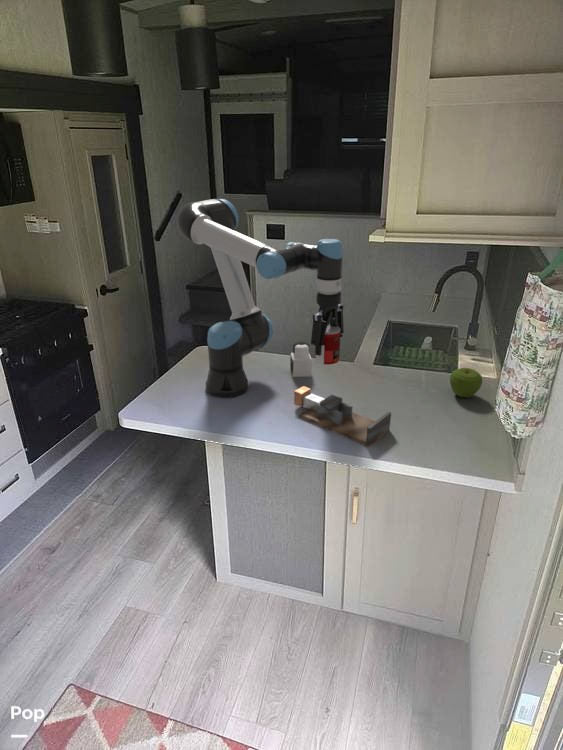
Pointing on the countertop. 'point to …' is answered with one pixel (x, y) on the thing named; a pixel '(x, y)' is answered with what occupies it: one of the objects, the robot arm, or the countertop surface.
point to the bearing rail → (347, 421)
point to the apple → (465, 382)
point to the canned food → (331, 345)
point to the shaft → (308, 399)
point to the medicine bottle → (301, 360)
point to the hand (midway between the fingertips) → (327, 359)
